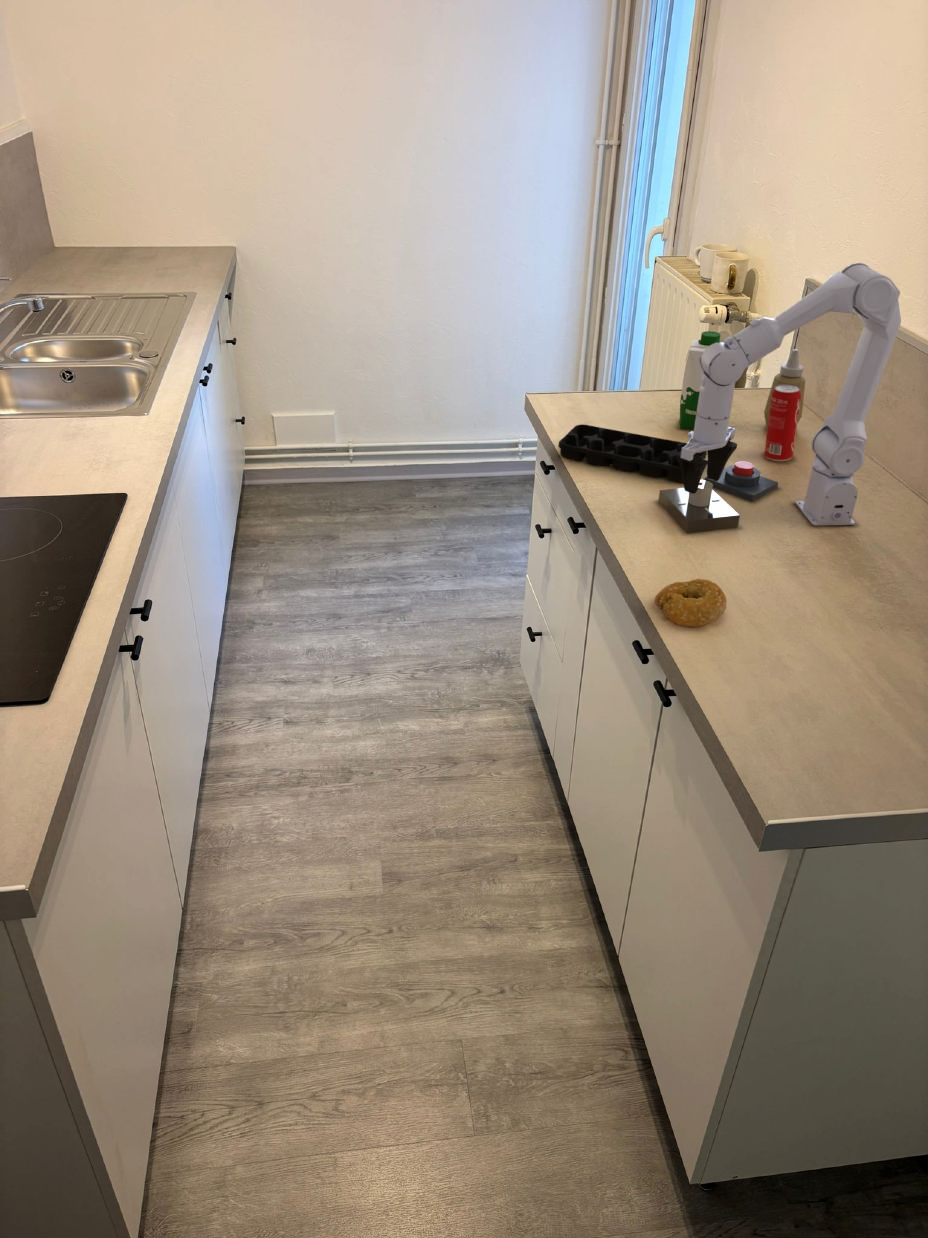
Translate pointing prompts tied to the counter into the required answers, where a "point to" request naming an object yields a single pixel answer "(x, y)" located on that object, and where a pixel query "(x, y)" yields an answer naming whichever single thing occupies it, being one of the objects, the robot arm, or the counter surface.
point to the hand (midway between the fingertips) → (701, 485)
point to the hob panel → (698, 512)
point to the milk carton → (694, 379)
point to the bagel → (692, 602)
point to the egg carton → (624, 451)
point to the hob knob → (701, 494)
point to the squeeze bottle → (788, 381)
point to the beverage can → (782, 422)
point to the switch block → (744, 484)
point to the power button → (743, 468)
